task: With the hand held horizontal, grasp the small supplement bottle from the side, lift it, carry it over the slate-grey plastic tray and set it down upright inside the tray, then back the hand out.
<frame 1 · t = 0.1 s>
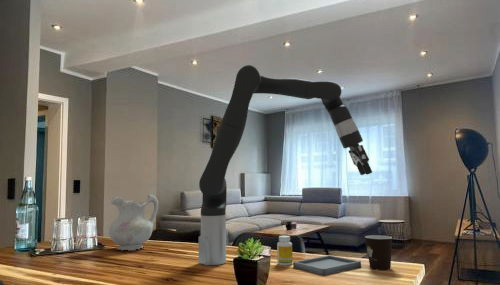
hand: (366, 174, 131), 31 cm above the counter, fingers open, 8 cm apart
tray: (327, 267, 121), on the counter
ceramic pitcher: (133, 248, 166), on the counter
supplement bottle: (285, 264, 128), on the counter
coffee mug: (379, 267, 120), on the counter
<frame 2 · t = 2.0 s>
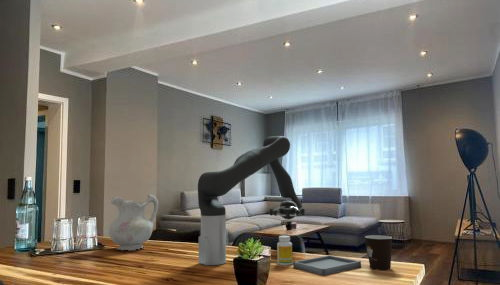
hand: (286, 212, 141), 17 cm above the counter, fingers open, 8 cm apart
nothing on the counter moved.
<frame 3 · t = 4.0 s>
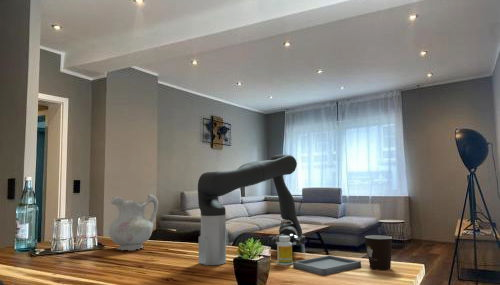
hand: (285, 242, 134), 6 cm above the counter, fingers open, 8 cm apart
nothing on the counter moved.
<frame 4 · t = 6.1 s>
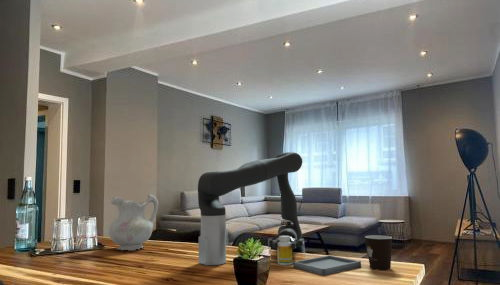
hand: (284, 246, 126), 7 cm above the counter, fingers closed on supplement bottle, 5 cm apart
supplement bottle: (285, 264, 128), on the counter, touching gripper
everything else where it was.
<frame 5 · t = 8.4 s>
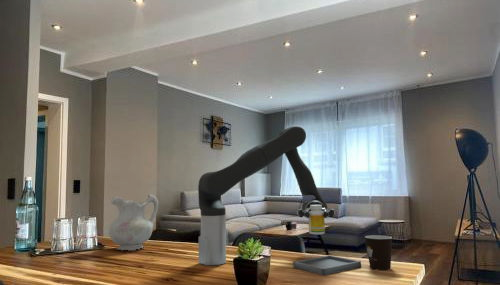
hand: (316, 214, 121), 18 cm above the counter, fingers closed on supplement bottle, 5 cm apart
supplement bottle: (317, 234, 123), point 11 cm above the counter, touching gripper
everything else where it was.
when the fingers open (7 cm above the counter, at t = 11.0 s): supplement bottle stays where it is, resting on tray.
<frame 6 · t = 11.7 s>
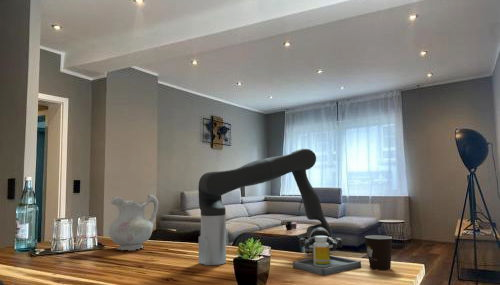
hand: (321, 245, 119), 8 cm above the counter, fingers open, 8 cm apart
supplement bottle: (321, 266, 120), point 1 cm above the counter, touching tray
everything else where it was.
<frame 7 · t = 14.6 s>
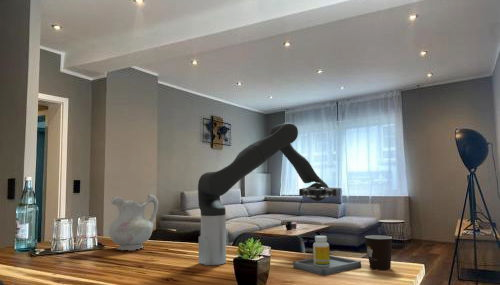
hand: (317, 192, 134), 25 cm above the counter, fingers open, 8 cm apart
nothing on the counter moved.
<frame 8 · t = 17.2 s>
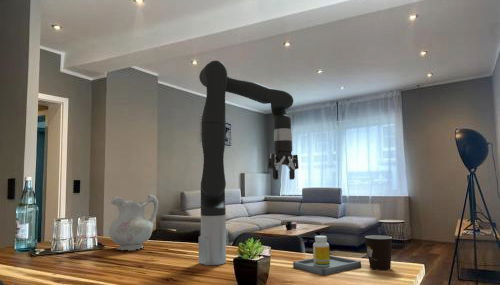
hand: (284, 179, 147), 30 cm above the counter, fingers open, 8 cm apart
nothing on the counter moved.
at the end: supplement bottle inside the target area on the tray (2.4 cm from its centre), point 0.6 cm above the tray's base; supplement bottle tilted 0°; the gripper is holding nothing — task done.
